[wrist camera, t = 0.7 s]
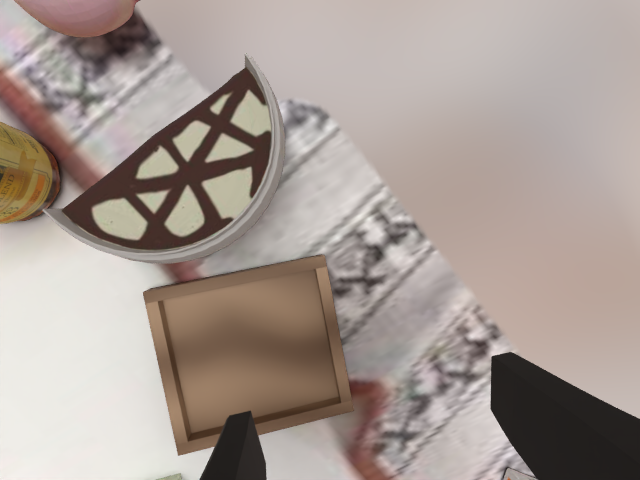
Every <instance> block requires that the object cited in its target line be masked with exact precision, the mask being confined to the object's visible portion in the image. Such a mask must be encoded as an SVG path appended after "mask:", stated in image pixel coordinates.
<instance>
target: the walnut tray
mask: <svg viewBox="0 0 640 480" xmlns="http://www.w3.org/2000/svg"><path fill="white" fill-rule="evenodd" d="M143 296H144V300H145V305H146V309H147V314H148V319H149V323H150V328H151V332H152V337H153V342H154V346H155V351H156V355H157V360H158V365H159V369H160V374H161V378H162V383H163V388H164V392H165V397H166V401H167V406H168V411H169V415H170V420H171V424H172V429H173V434H174V438H175V443H176V448H177V452H178V456H179V455H183V454H187V453H191V452H195V451H199V450H203V449H207V448H210V447H214V446H215V445H216V443H217V441H218V439H219V436H220V434H221V431H222V429H223V427H224V424H225V422H226V419H227V418H228V417H229V415H234V414H238V413H242V412H247V411H251V413H252V416H253V420H254V423H255V427H256V430H257V434H258V435H261V434H265V433H269V432H273V431H277V430H281V429H285V428H289V427H293V426H297V425H301V424H304V423H308V422H312V421H316V420H320V419H324V418H328V417H332V416H336V415H340V414H344V413H348V412H351V411H354V408H353V403H352V398H351V392H350V387H349V382H348V376H347V371H346V366H345V360H344V355H343V350H342V345H341V339H340V334H339V329H338V323H337V318H336V313H335V307H334V302H333V297H332V291H331V286H330V281H329V276H328V270H327V265H326V260H325V256H324V255H322V254H321V255H316V256H311V257H306V258H301V259H296V260H291V261H286V262H281V263H276V264H271V265H266V266H261V267H256V268H251V269H246V270H241V271H236V272H231V273H226V274H221V275H216V276H211V277H206V278H201V279H196V280H191V281H186V282H181V283H176V284H171V285H166V286H161V287H156V288H151V289H149V290H147V291H144V292H143Z"/></svg>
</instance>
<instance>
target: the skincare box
mask: <svg viewBox="0 0 640 480" xmlns="http://www.w3.org/2000/svg"><path fill="white" fill-rule="evenodd" d="M503 480H538V479H535V478H533V477H530V476H528V475H525V474H523V473H520V472H518V471H515V470H513V469H510V468H507V470H506V473H505V476H504V479H503Z"/></svg>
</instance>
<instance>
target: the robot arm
mask: <svg viewBox="0 0 640 480" xmlns="http://www.w3.org/2000/svg"><path fill="white" fill-rule="evenodd" d="M491 411H492V412H493V414H494V416H495V418H496V419H497V421H498V423H499V425H500V426H501V428H502V430H503V431H504V433H505V435H506V436H507V438H508V439H509V441H510V443H511V444H512V446H513V447H514V448H515V450H516V451H517V452H518V454H519V455H520V456H521V458H522V459H523V460H524V462H525V463H526V464H527V466H528V467H529V468H530V470H531V471H532V472H533V474H534V475H535V476H536V478H537V479H538V480H640V419H638V418H636V417H634V416H632V415H630V414H628V413H626V412H624V411H622V410H620V409H618V408H616V407H614V406H612V405H610V404H608V403H606V402H604V401H602V400H600V399H598V398H596V397H594V396H592V395H590V394H588V393H586V392H585V391H583V390H581V389H579V388H577V387H575V386H573V385H571V384H569V383H568V382H566V381H564V380H562V379H560V378H558V377H557V376H555V375H553V374H551V373H549V372H547V371H546V370H544V369H542V368H540V367H538V366H536V365H535V364H533V363H531V362H529V361H527V360H525V359H524V358H522V357H520V356H518V355H516V354H514V353H512V352H509V353H504V354H500V355H495V356H492V363H491ZM200 480H266V462H265V459H264V455H263V452H262V448H261V444H260V441H259V437H258V434H257V430H256V427H255V423H254V420H253V416H252V413H251V411H247V412H242V413H238V414H234V415H229V417H228V418H227V419H226V422H225V424H224V427H223V429H222V431H221V434H220V436H219V439H218V441H217V443H216V445H215V448H214V450H213V452H212V454H211V457H210V459H209V461H208V463H207V465H206V467H205V469H204V472H203V474H202V476H201V478H200Z"/></svg>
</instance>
